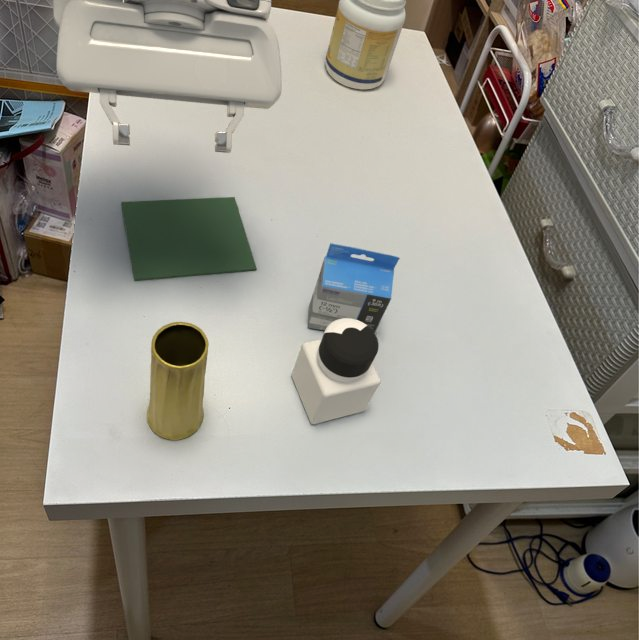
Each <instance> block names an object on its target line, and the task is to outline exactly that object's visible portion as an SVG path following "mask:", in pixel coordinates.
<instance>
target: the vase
mask: <svg viewBox="0 0 639 640" xmlns="http://www.w3.org/2000/svg"><path fill="white" fill-rule="evenodd" d="M209 343H210V342H209V339H208V337H207V335H206V334H205V332H204V331H203V330H202V328H200V327H199V326H198V325H196V324H194V323H190V322H186V321H173V322H170V323H167V324H164V325H162V326H161V327H160V328H158V329H157V331H156V332H155V333H154V334H153V335H152V339H151V344H150V346H151V347H150V374H149V375H150V378H149V380H150V381H149V390H150V391H149V405H148V407H147V410H146V421H147V424H148V426H149V427H150V429H151V430H152V432H154V434H156V435H157V436H158V437H161V438H163V439H166V440H172V441H175V440H184V439H186V438H189V437H190V436H192V435H193V434H195V433H196V432H197V431H198V430H199V429H200V427H201V425H202V423H203V420H204V406H203V405H204V396H205V380H206V372H207V364H208V354H209V346H210V345H209Z"/></svg>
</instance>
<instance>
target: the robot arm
mask: <svg viewBox="0 0 639 640" xmlns="http://www.w3.org/2000/svg"><path fill="white" fill-rule="evenodd" d="M271 10H272V0H52V19H53V22H54V25H55V26H56V27H57V28H58V35H57V36H58V37H57V47H56V63H55V64H56V65H55V66H56V74H57V77H58V79H59V81H60V82H61V83H62V84H63V86H64V87H65V88H66V89H68V90H69V91H70V92H71V91H72V92H80V93H90V94H99V104H100V106H101V108H102V110H103V111H104V113H105V115H106V117H107V118H108V120H109V122H110V124H111V125H112V142H113V145H114V146H115V145H116V146H131V138H130V134H131V125H130V124H129V123H121V121H120V120H119V118H118V115H116V113H115V111H114V110H113V108H117V106H118V96H122V97H132V98H133V97H134V98H145V99H155V100H164V101H175V102H186V103H195V104H196V103H197V104H208V105H216V106H217V105H218V106H226V117H228V118H232V119H231V120H230V122H229V123H228V125H227V127H226V128H225V130H224V131H216V132H215V133H214V142H215V145H214V152H215V153H223V154H231V153H232V148H233V134H234V132H235V130H236V128H237V127H238V126H239V124H240V123H241V121H242V119H243V117H244V116H245V108H249V109H259V110H260V109H262V110H268V109H270V108H272V107H273V106H274V105H275V104H276V103H277V102H278V101H279V100H280V98H281V96H282V84H283V83H282V81H283V80H282V59H281V51H280V44H279V40H278V35H277V33H276V30H275V29H274V27H273V26H272V24H270V23H269V22H268V21H269V18H270V16H271Z"/></svg>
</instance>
